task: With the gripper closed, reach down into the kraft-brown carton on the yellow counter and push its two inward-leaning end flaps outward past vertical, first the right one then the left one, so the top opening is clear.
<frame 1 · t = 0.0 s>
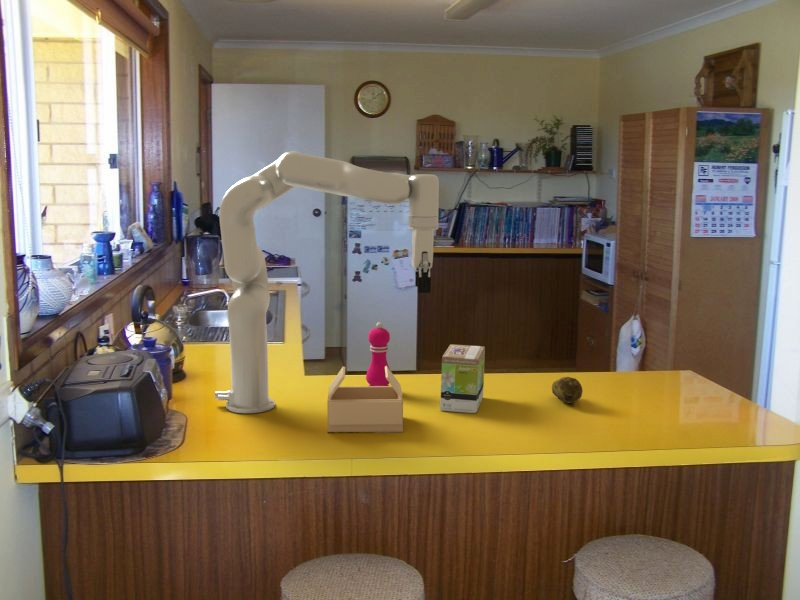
hand: (422, 289, 218), 31 cm above the counter, tool pointing down, fingers open, 9 cm apart
pepper mill: (378, 393, 235), on the counter
tea box: (462, 405, 225), on the counter
left flap: (336, 381, 206), point 11 cm above the counter, hinge at -35.0°
right flap: (393, 381, 207), point 11 cm above the counter, hinge at -35.0°
potato: (566, 404, 227), on the counter
carton: (365, 424, 208), on the counter
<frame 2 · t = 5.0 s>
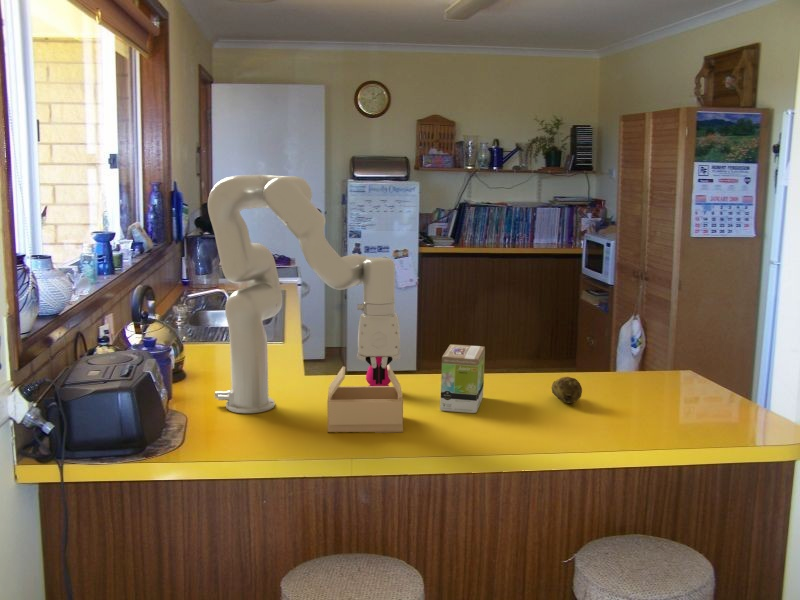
hand: (378, 382, 206), 11 cm above the counter, tool pointing down, fingers closed
right flap: (394, 380, 207), point 11 cm above the counter, hinge at -28.4°, touching gripper
everything else where it was.
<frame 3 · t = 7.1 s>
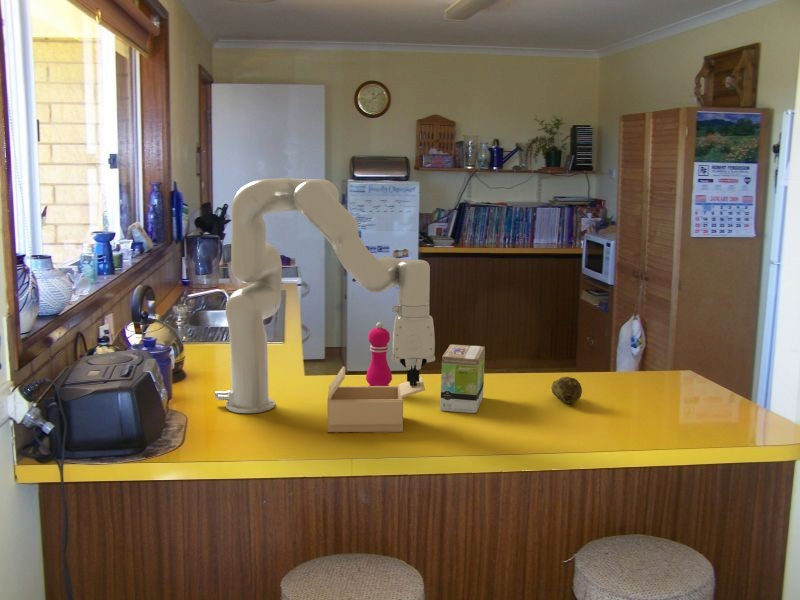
hand: (413, 384, 207), 10 cm above the counter, tool pointing down, fingers closed
right flap: (411, 387, 207), point 9 cm above the counter, hinge at 71.1°, touching gripper
everything else where it was.
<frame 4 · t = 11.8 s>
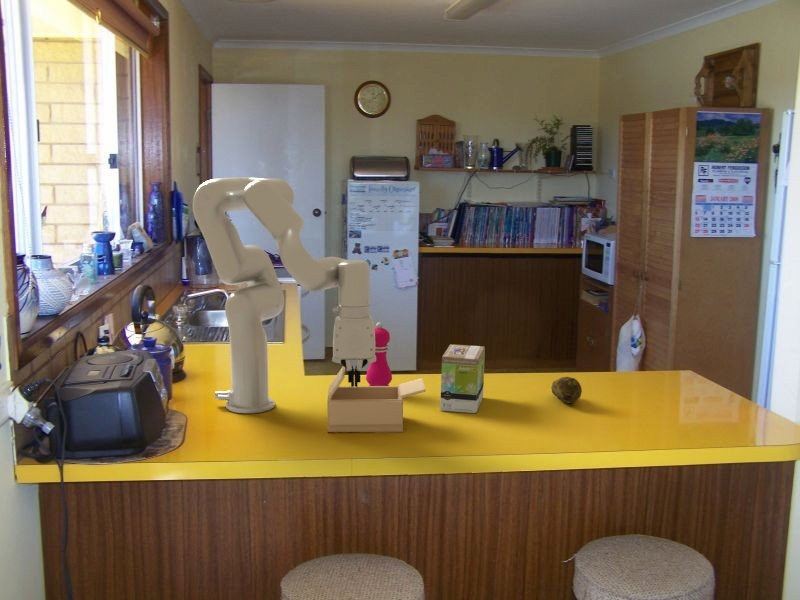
hand: (354, 385, 206), 10 cm above the counter, tool pointing down, fingers closed
left flap: (336, 381, 206), point 11 cm above the counter, hinge at -34.5°, touching gripper
right flap: (412, 387, 207), point 9 cm above the counter, hinge at 74.6°
everything else where it was.
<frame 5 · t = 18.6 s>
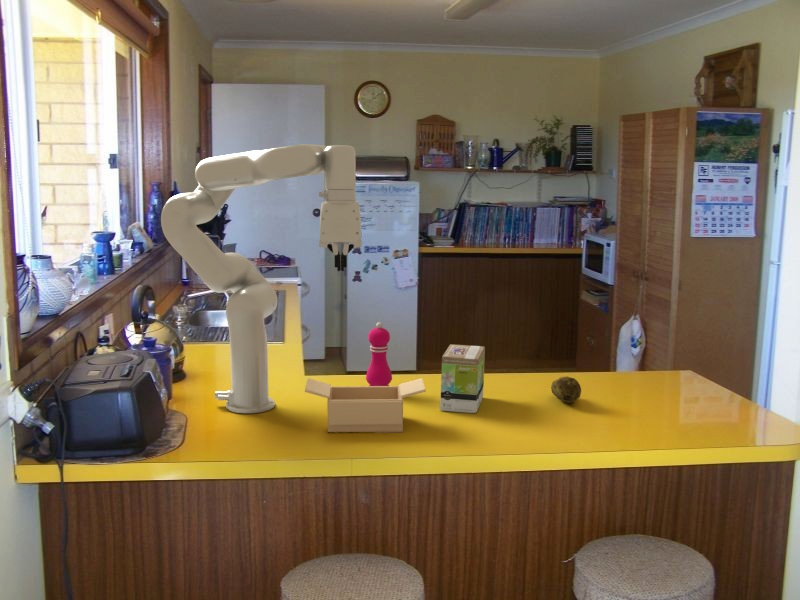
hand: (340, 270, 210), 37 cm above the counter, tool pointing down, fingers closed
left flap: (318, 388, 206), point 9 cm above the counter, hinge at 73.0°
everything else where it was.
at the end: right flap at +75° (first picture: -35°); left flap at +73° (first picture: -35°) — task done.
